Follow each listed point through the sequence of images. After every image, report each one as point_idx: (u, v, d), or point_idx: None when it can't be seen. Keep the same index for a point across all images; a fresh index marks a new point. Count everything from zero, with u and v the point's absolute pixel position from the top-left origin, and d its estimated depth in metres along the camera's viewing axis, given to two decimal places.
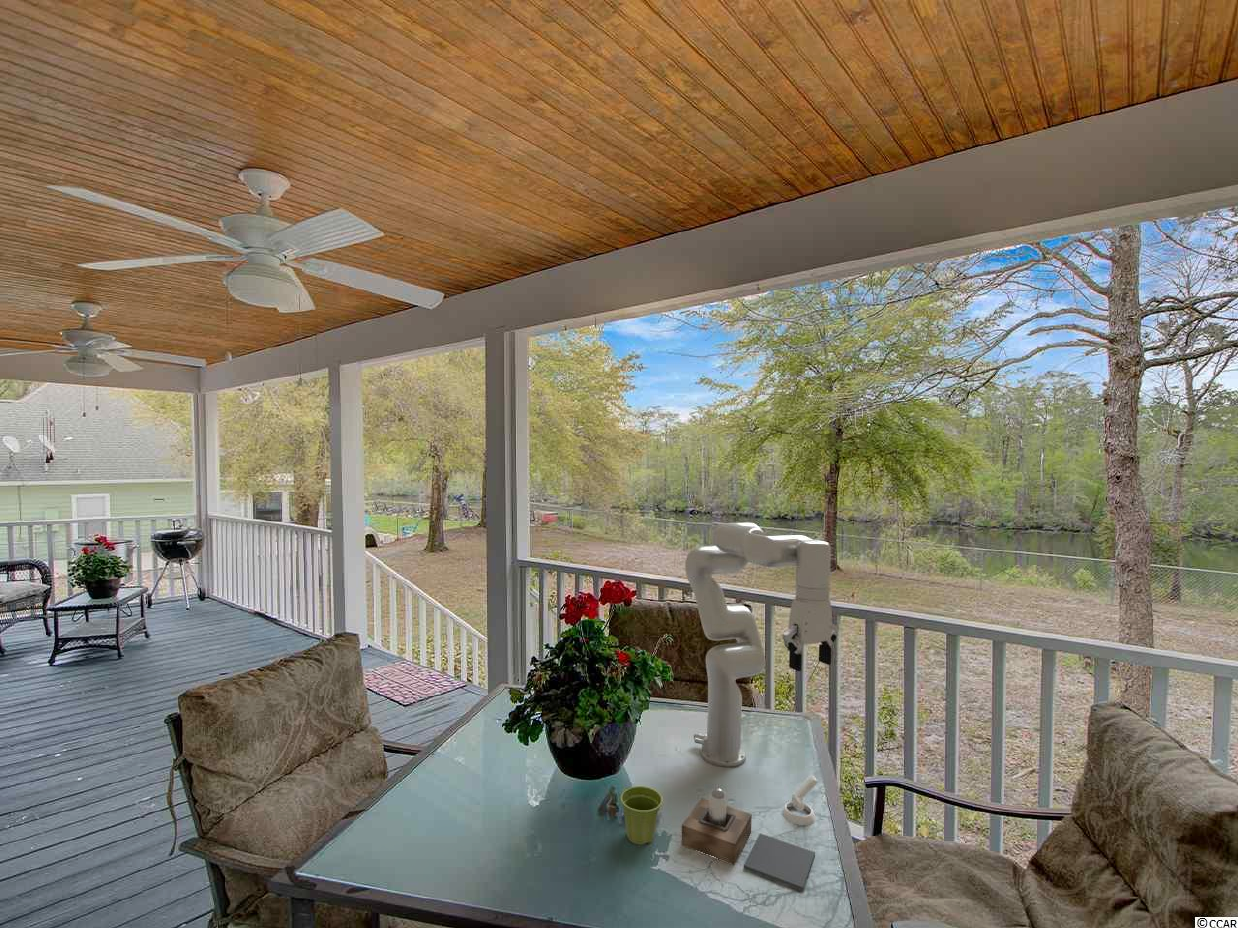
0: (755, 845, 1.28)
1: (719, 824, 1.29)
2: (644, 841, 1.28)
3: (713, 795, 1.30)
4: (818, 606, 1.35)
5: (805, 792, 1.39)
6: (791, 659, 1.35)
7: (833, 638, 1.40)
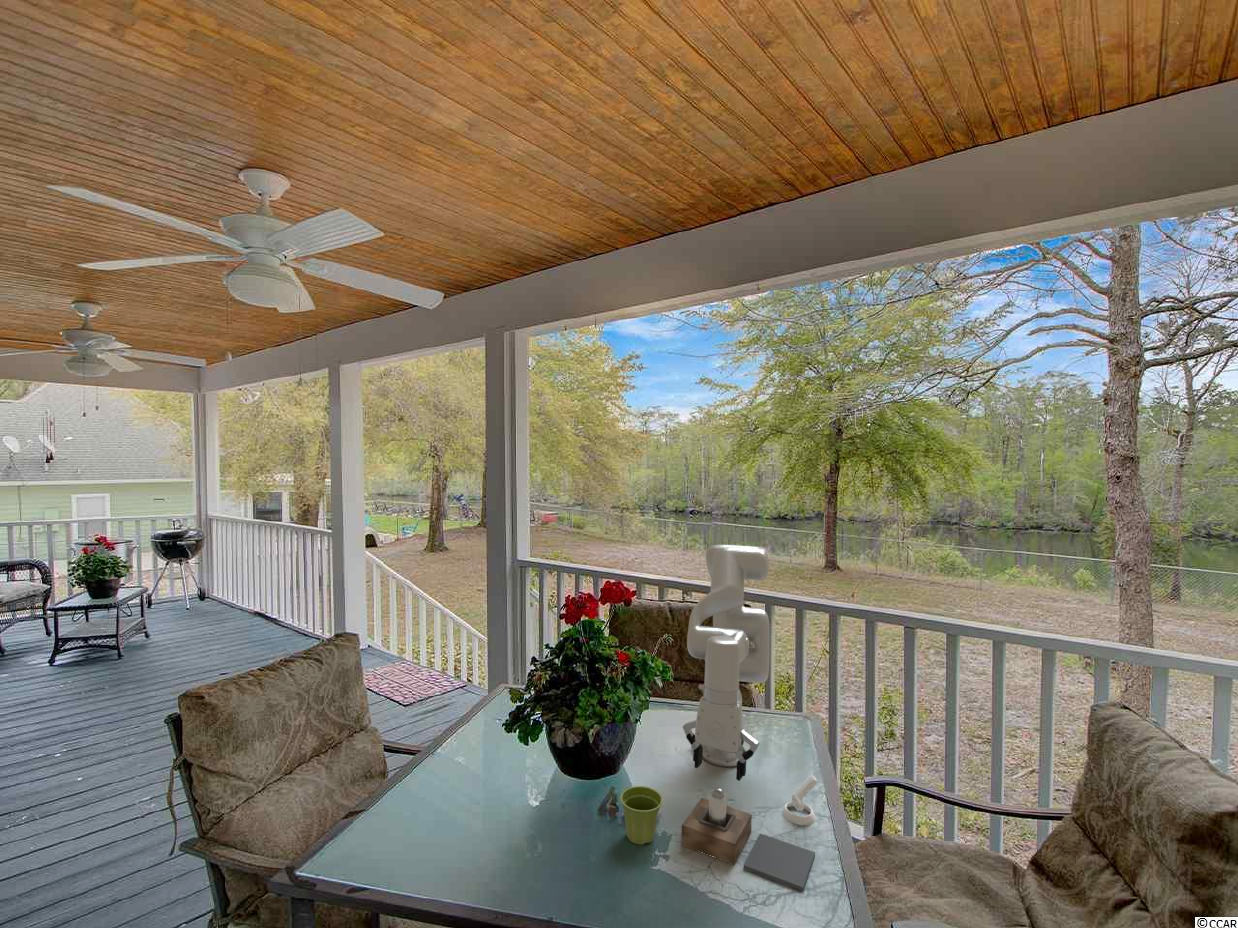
0: (755, 845, 1.28)
1: (719, 824, 1.29)
2: (644, 841, 1.28)
3: (713, 795, 1.30)
4: None
5: (805, 792, 1.39)
6: (744, 768, 1.27)
7: None
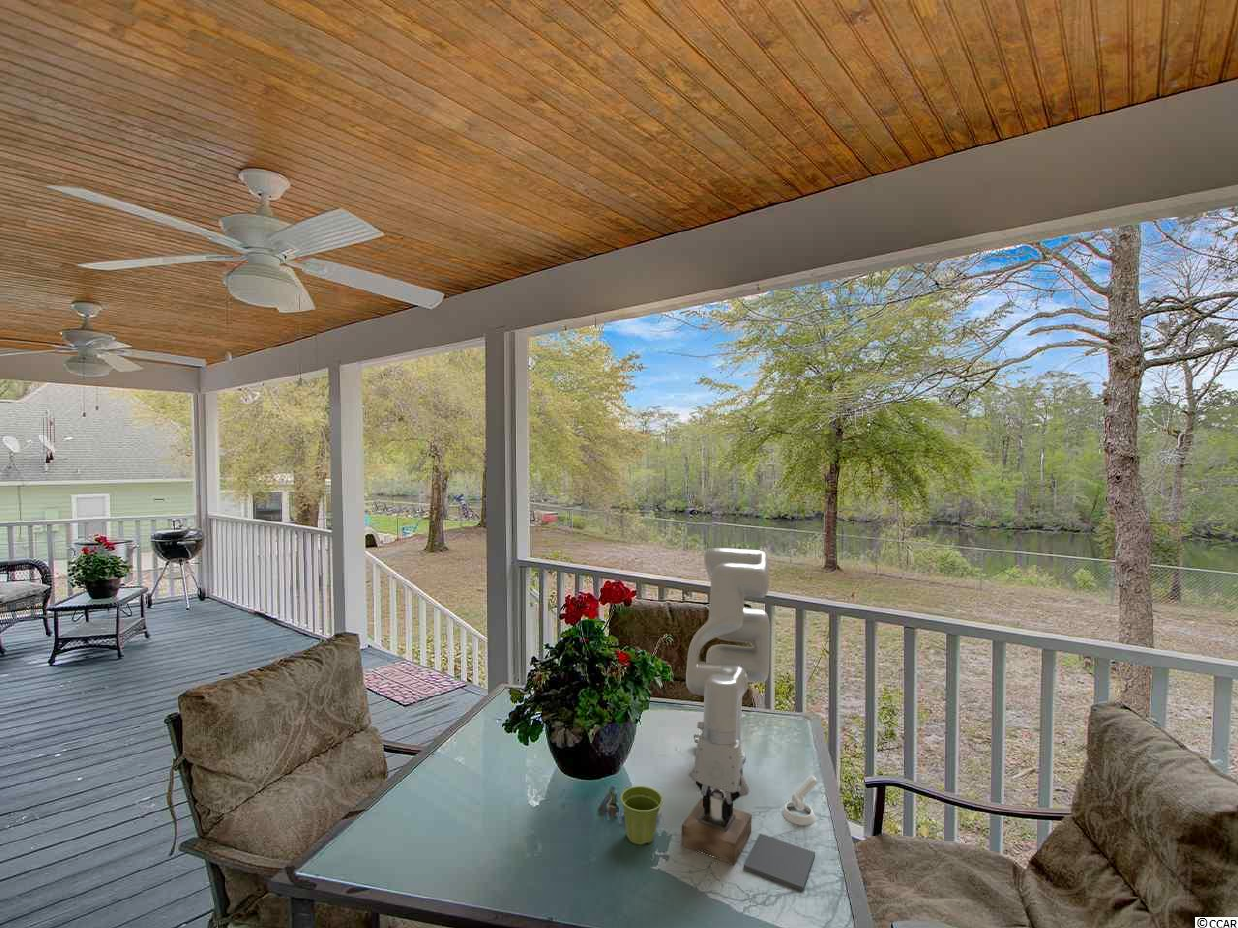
0: (755, 845, 1.28)
1: (719, 824, 1.29)
2: (644, 841, 1.28)
3: (713, 795, 1.30)
4: None
5: (805, 792, 1.39)
6: (731, 809, 1.29)
7: None
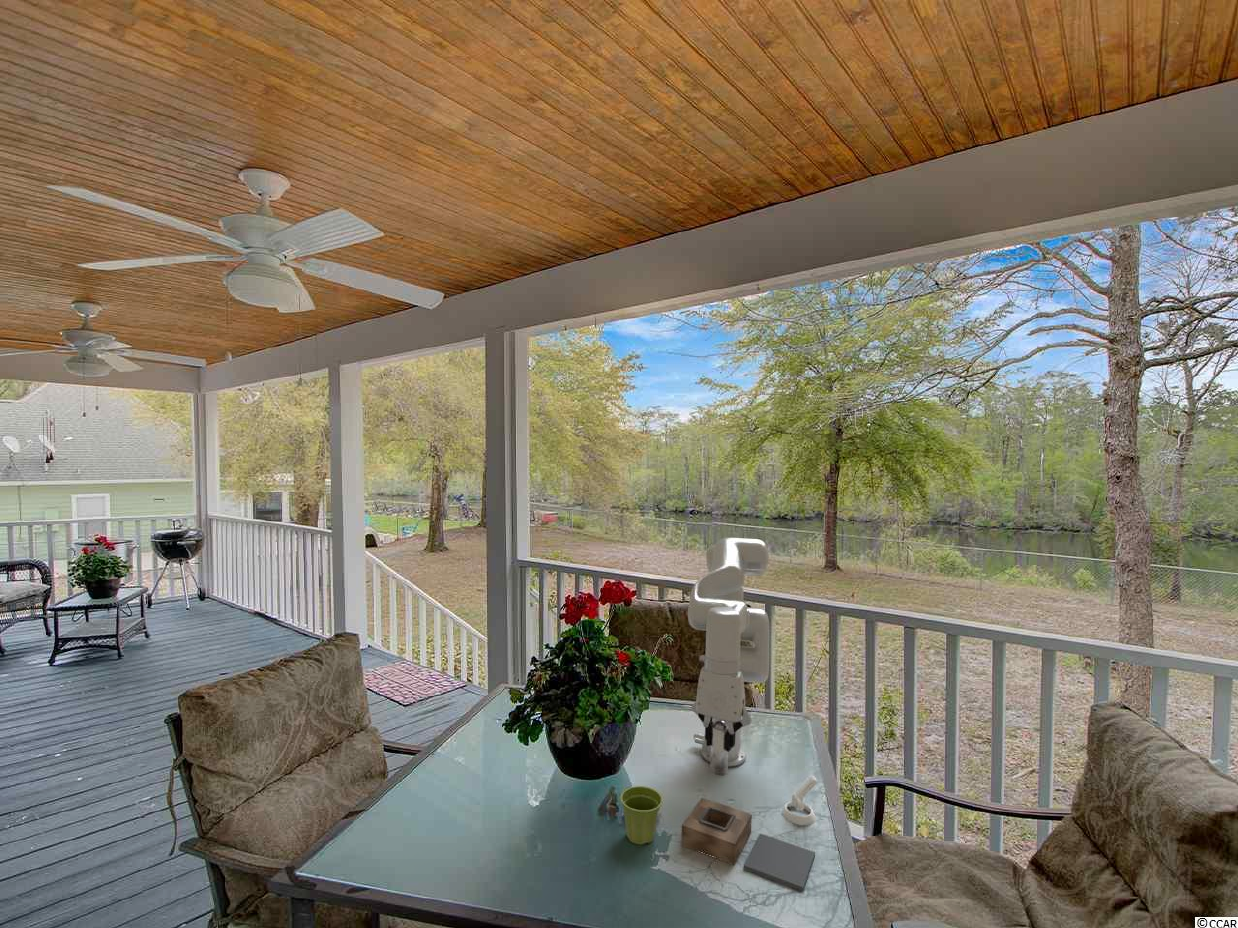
0: (755, 845, 1.28)
1: (721, 755, 1.28)
2: (644, 841, 1.28)
3: (715, 726, 1.30)
4: None
5: (805, 792, 1.39)
6: (733, 740, 1.29)
7: None
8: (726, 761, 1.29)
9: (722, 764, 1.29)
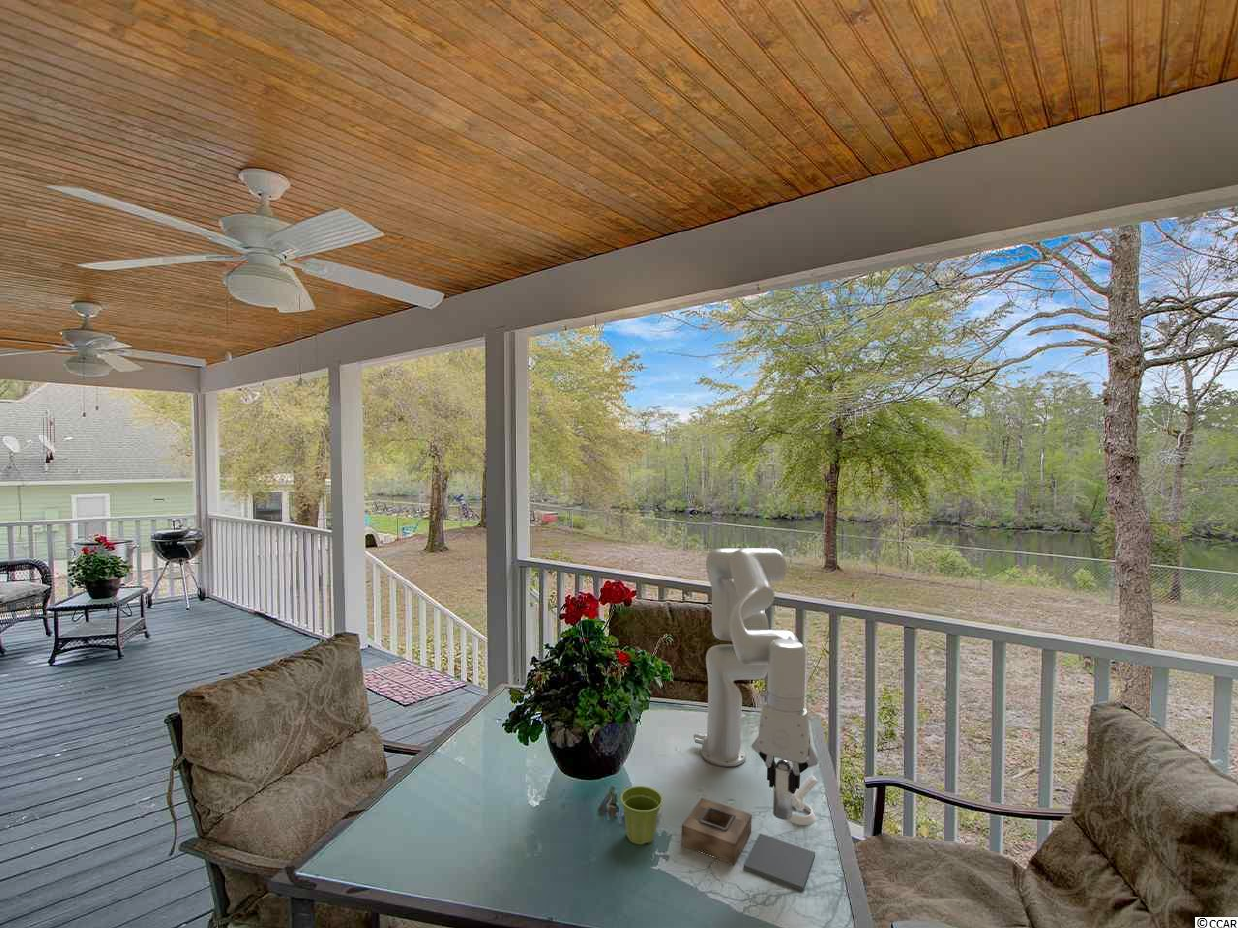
0: (755, 845, 1.28)
1: (786, 797, 1.21)
2: (644, 841, 1.28)
3: (779, 767, 1.22)
4: None
5: (805, 792, 1.39)
6: (798, 781, 1.21)
7: None
8: (790, 804, 1.22)
9: (787, 807, 1.21)
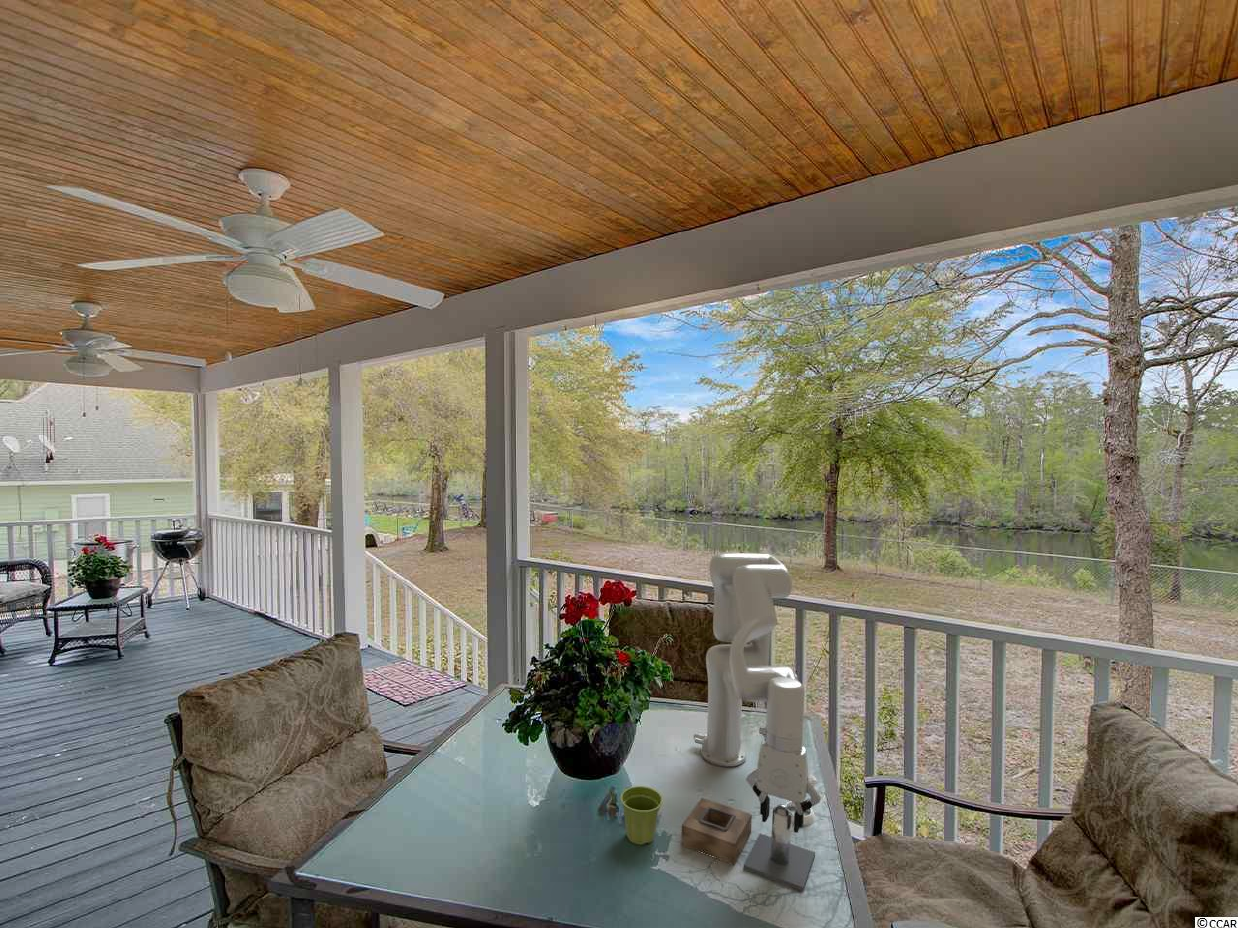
0: (755, 845, 1.28)
1: (784, 843, 1.22)
2: (644, 841, 1.28)
3: (777, 812, 1.23)
4: None
5: None
6: (802, 820, 1.21)
7: None
8: (788, 849, 1.22)
9: (785, 852, 1.22)
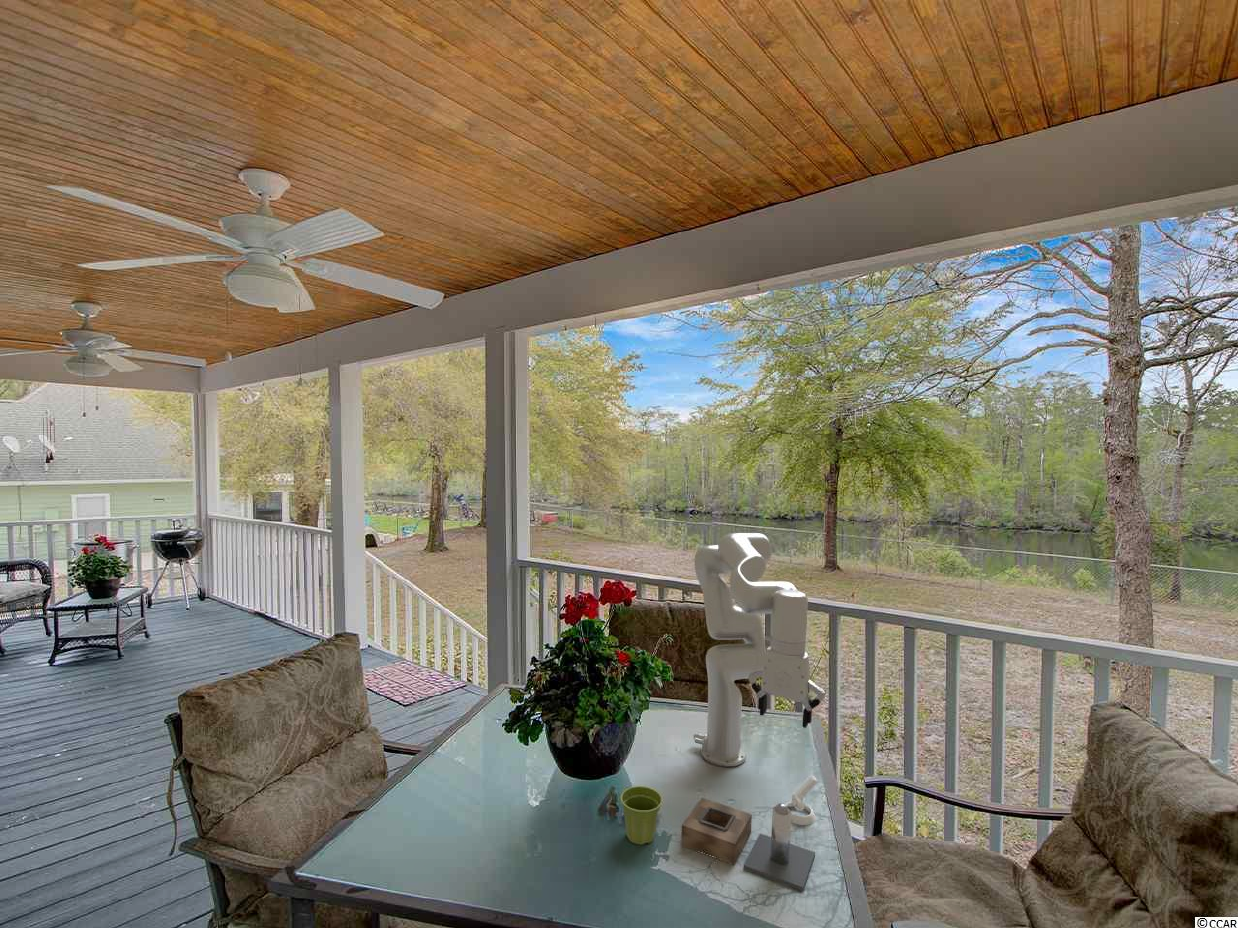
0: (755, 845, 1.28)
1: (784, 842, 1.22)
2: (644, 841, 1.28)
3: (777, 811, 1.23)
4: None
5: (805, 792, 1.39)
6: (810, 716, 1.30)
7: None
8: (788, 848, 1.23)
9: (785, 851, 1.22)
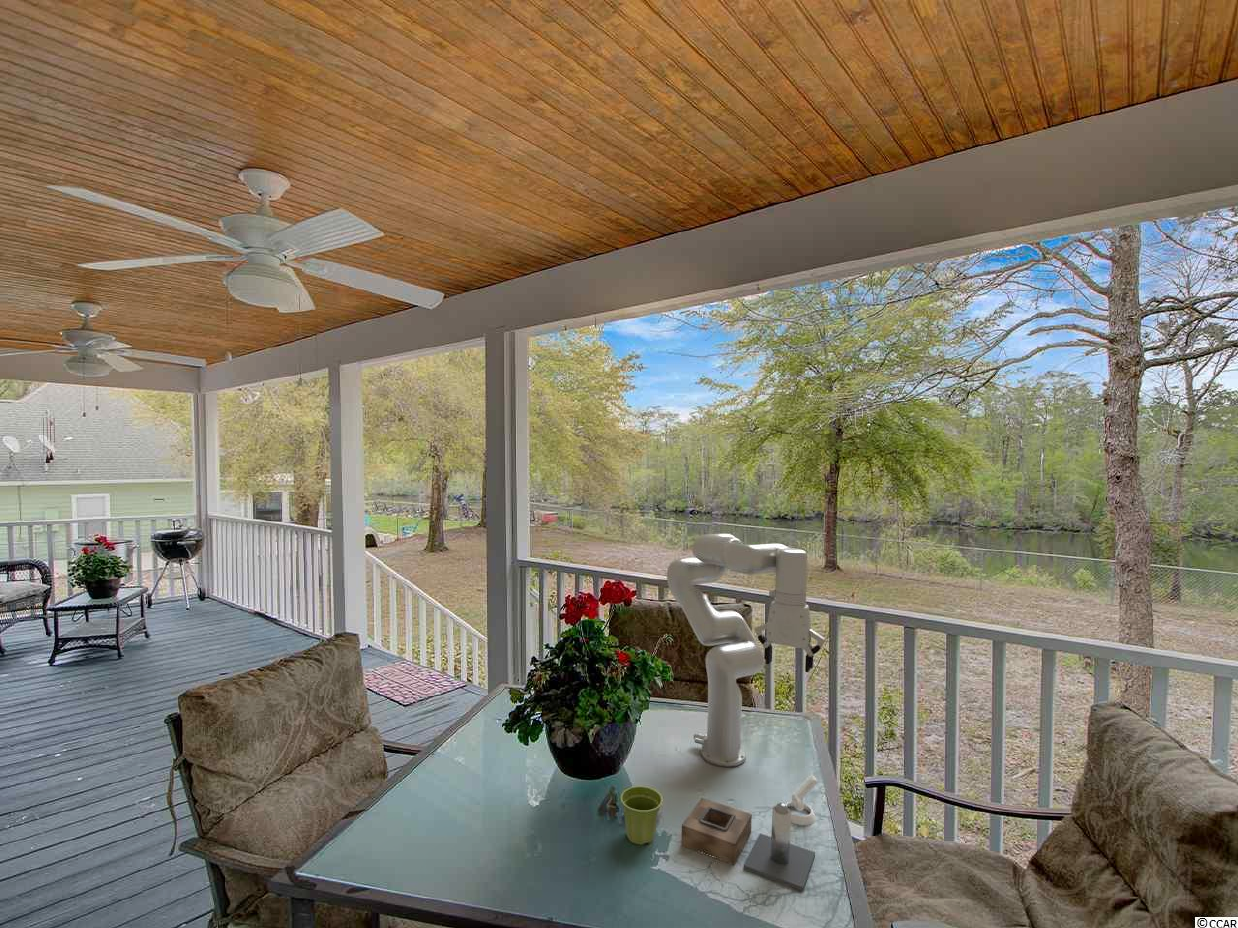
0: (755, 845, 1.28)
1: (784, 842, 1.22)
2: (644, 841, 1.28)
3: (777, 811, 1.23)
4: None
5: (805, 792, 1.39)
6: (812, 662, 1.44)
7: None
8: (788, 848, 1.23)
9: (785, 851, 1.22)
